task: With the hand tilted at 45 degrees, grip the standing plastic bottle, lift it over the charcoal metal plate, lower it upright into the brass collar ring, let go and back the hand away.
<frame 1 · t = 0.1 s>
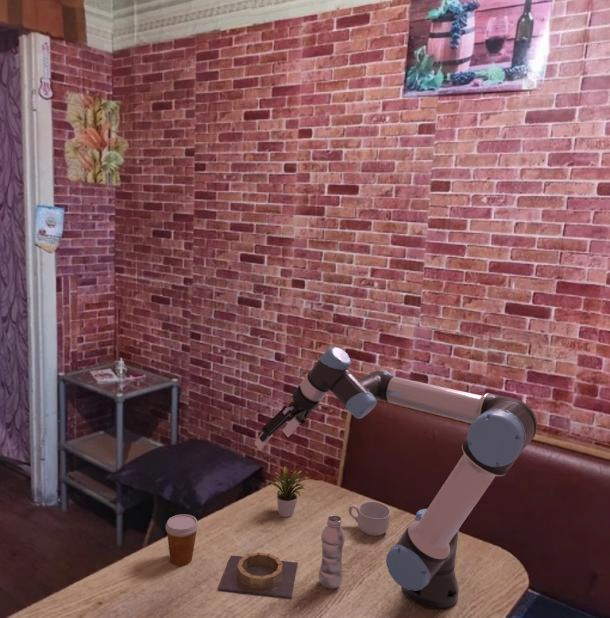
hand: (272, 439, 176), 36 cm above the table, tool tilted 35°, fingers open, 13 cm apart
collar stand: (259, 576, 168), on the table
house plant: (286, 515, 203), on the table
disposable coffee cup: (181, 560, 174), on the table
plastic bottle: (329, 585, 167), on the table
teacup: (368, 530, 197), on the table
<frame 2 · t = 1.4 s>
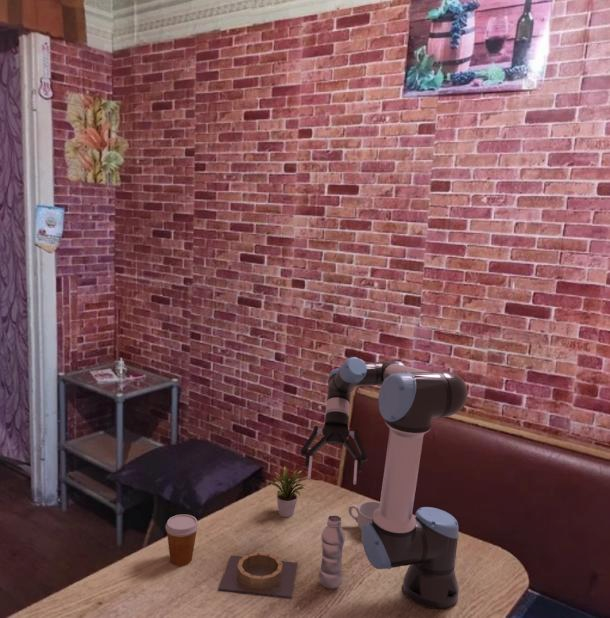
hand: (331, 480, 176), 25 cm above the table, tool tilted 45°, fingers open, 13 cm apart
nothing on the table moved.
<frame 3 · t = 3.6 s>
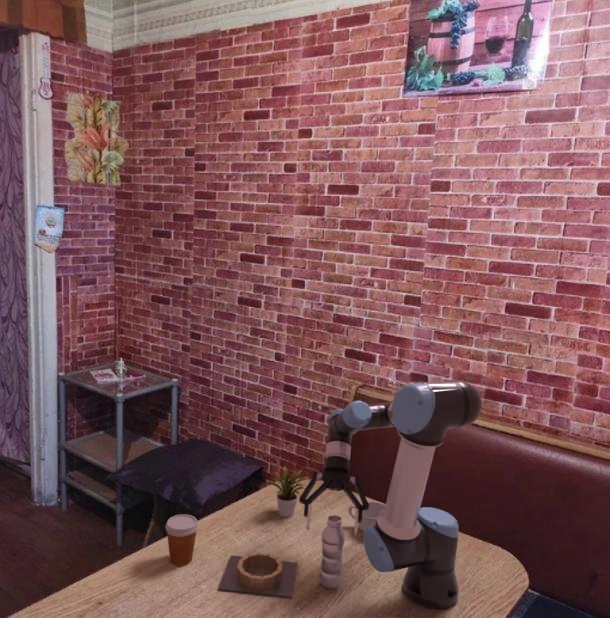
hand: (331, 531, 168), 14 cm above the table, tool tilted 45°, fingers open, 13 cm apart
nothing on the table moved.
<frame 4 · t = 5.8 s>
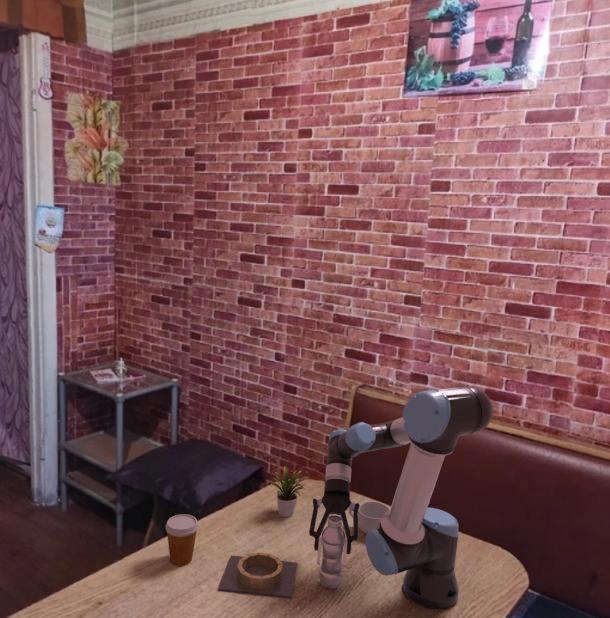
hand: (331, 564, 162), 8 cm above the table, tool tilted 45°, fingers closed on plastic bottle, 6 cm apart
plastic bottle: (329, 585, 167), on the table, touching gripper
everything else where it was.
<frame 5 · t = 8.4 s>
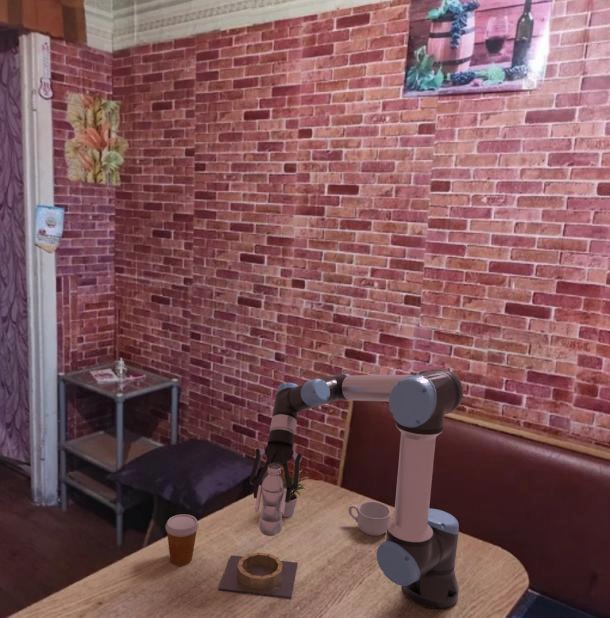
hand: (269, 511, 162), 21 cm above the table, tool tilted 45°, fingers closed on plastic bottle, 6 cm apart
plastic bottle: (269, 533, 168), point 13 cm above the table, touching gripper
everything else where it was.
when the fingers open (10 cm above the table, at t = 11.4 s): plastic bottle drops 1 cm, resting on collar stand.
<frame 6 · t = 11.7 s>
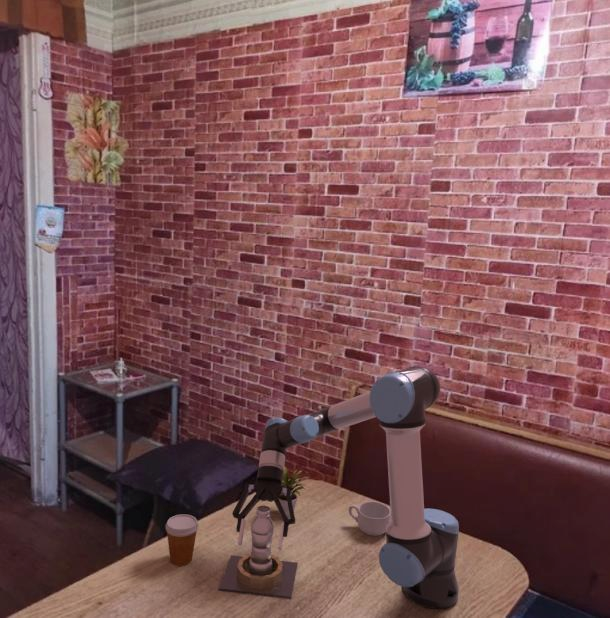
hand: (259, 546, 164), 11 cm above the table, tool tilted 45°, fingers open, 10 cm apart
plastic bottle: (259, 575, 168), resting on collar stand
everything else where it was.
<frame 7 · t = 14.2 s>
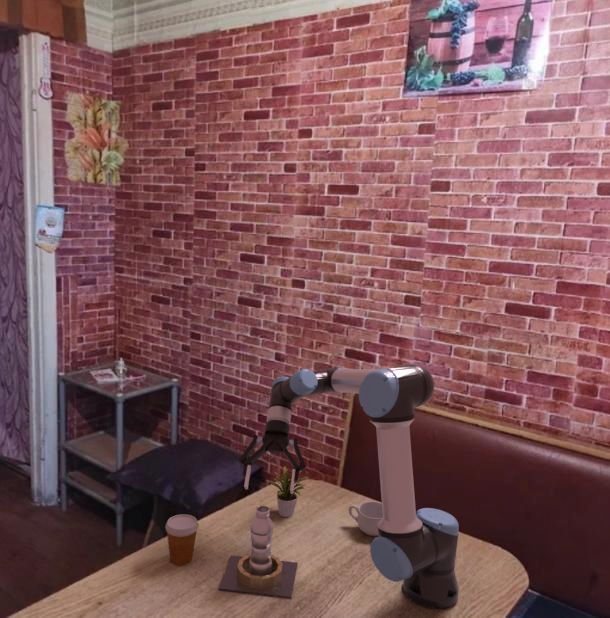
hand: (268, 490, 175), 21 cm above the table, tool tilted 45°, fingers open, 13 cm apart
nothing on the table moved.
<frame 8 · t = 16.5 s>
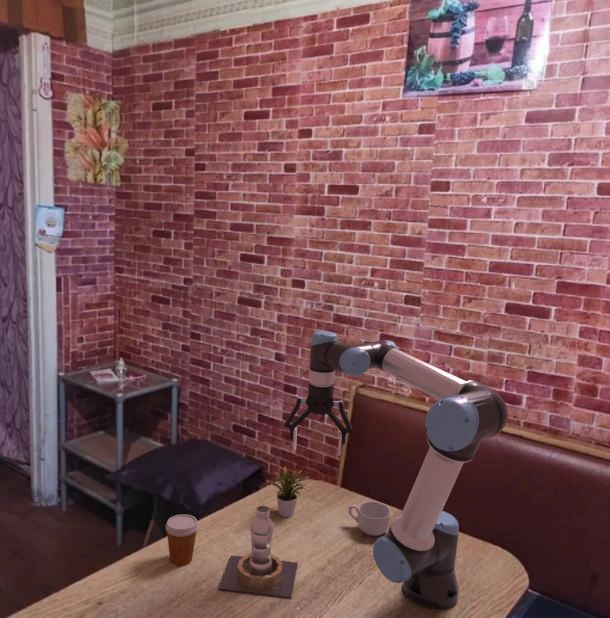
hand: (316, 451, 179), 32 cm above the table, tool pointing down, fingers open, 13 cm apart
nothing on the table moved.
at the end: plastic bottle 0.1 cm off-centre on the collar stand, point 0.4 cm above the collar stand's base; plastic bottle tilted 0°; the gripper is holding nothing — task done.
